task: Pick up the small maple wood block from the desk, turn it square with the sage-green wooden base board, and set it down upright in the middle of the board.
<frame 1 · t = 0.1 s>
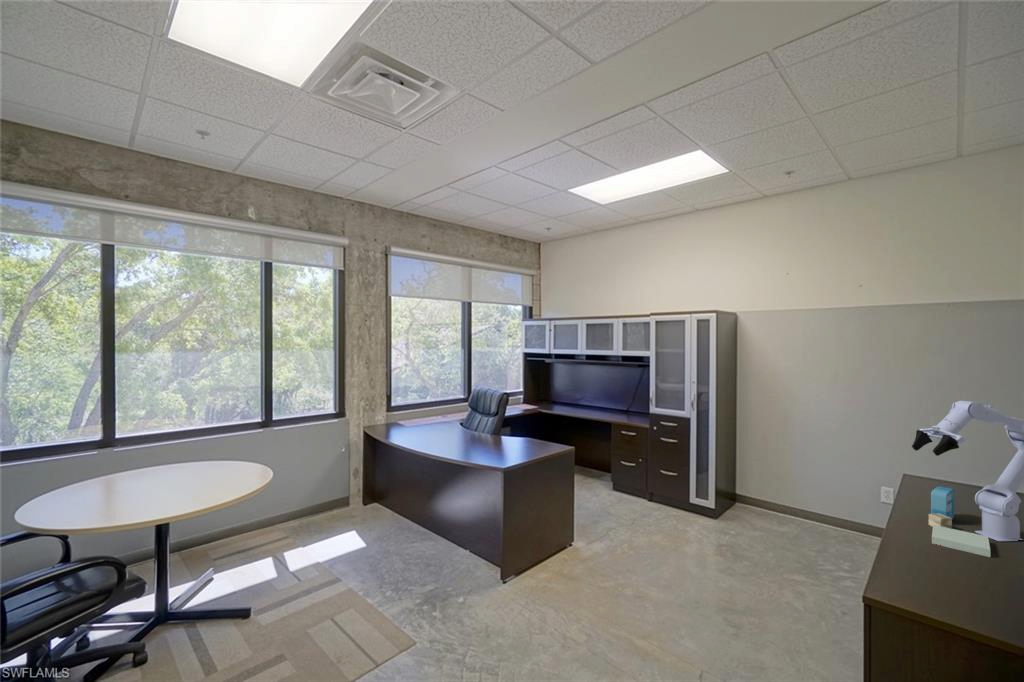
hand: (924, 451, 158), 32 cm above the table, tool tilted 50°, fingers open, 7 cm apart
maple block: (940, 527, 167), on the table
data package: (942, 519, 175), on the table
base board: (959, 543, 154), on the table
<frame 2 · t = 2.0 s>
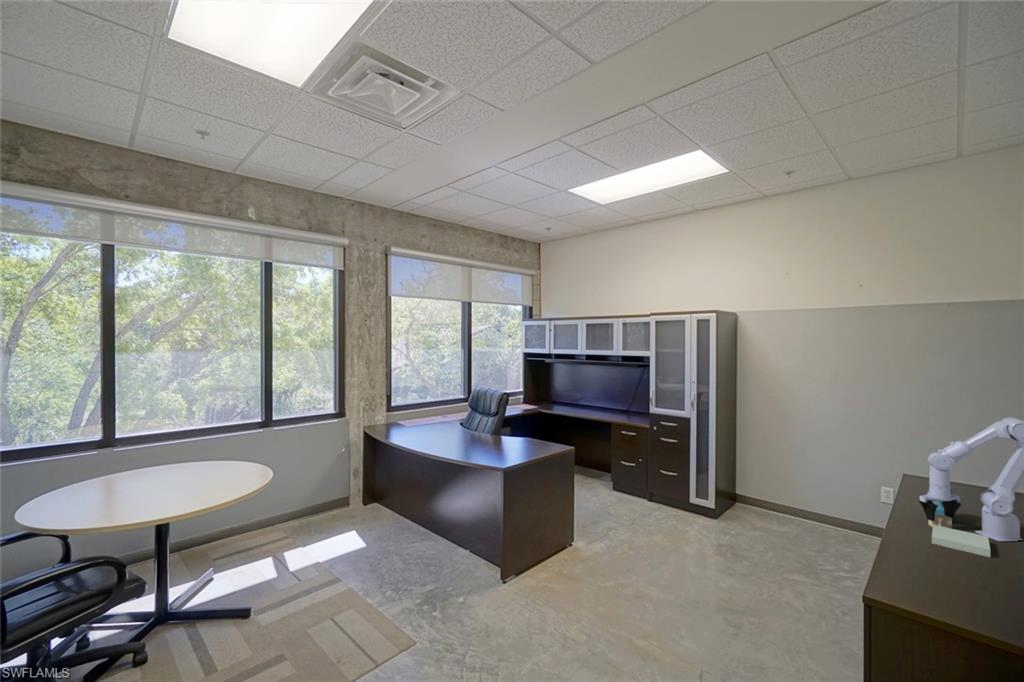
hand: (939, 519, 167), 3 cm above the table, tool pointing down, fingers open, 7 cm apart
nothing on the table moved.
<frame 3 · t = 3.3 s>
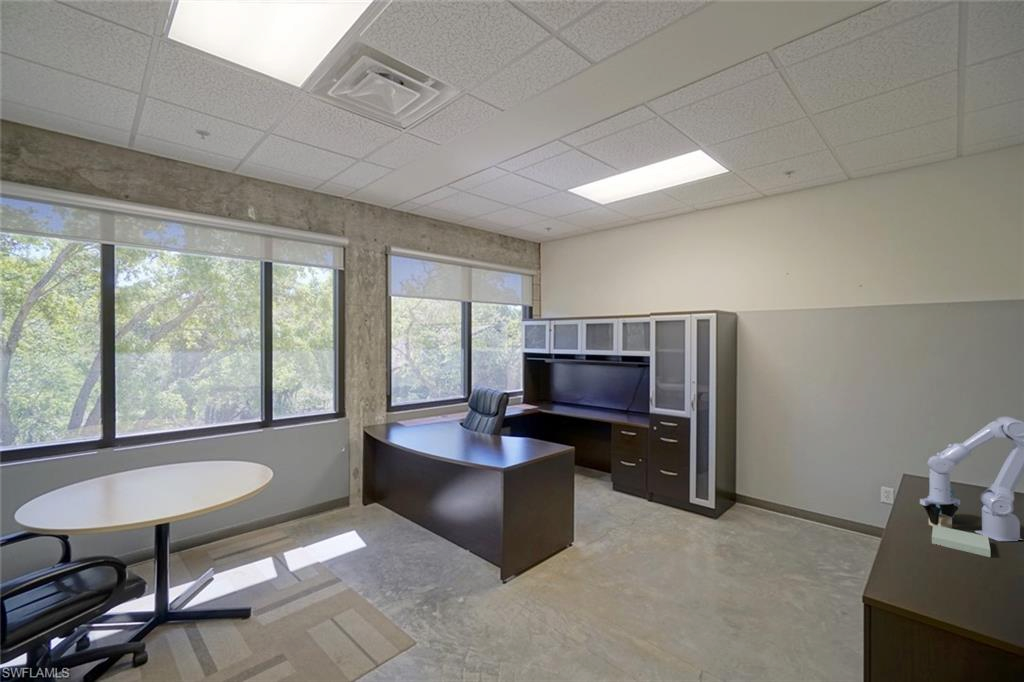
hand: (940, 523, 167), 2 cm above the table, tool pointing down, fingers closed on maple block, 4 cm apart
maple block: (940, 527, 167), on the table, touching gripper
everything else where it was.
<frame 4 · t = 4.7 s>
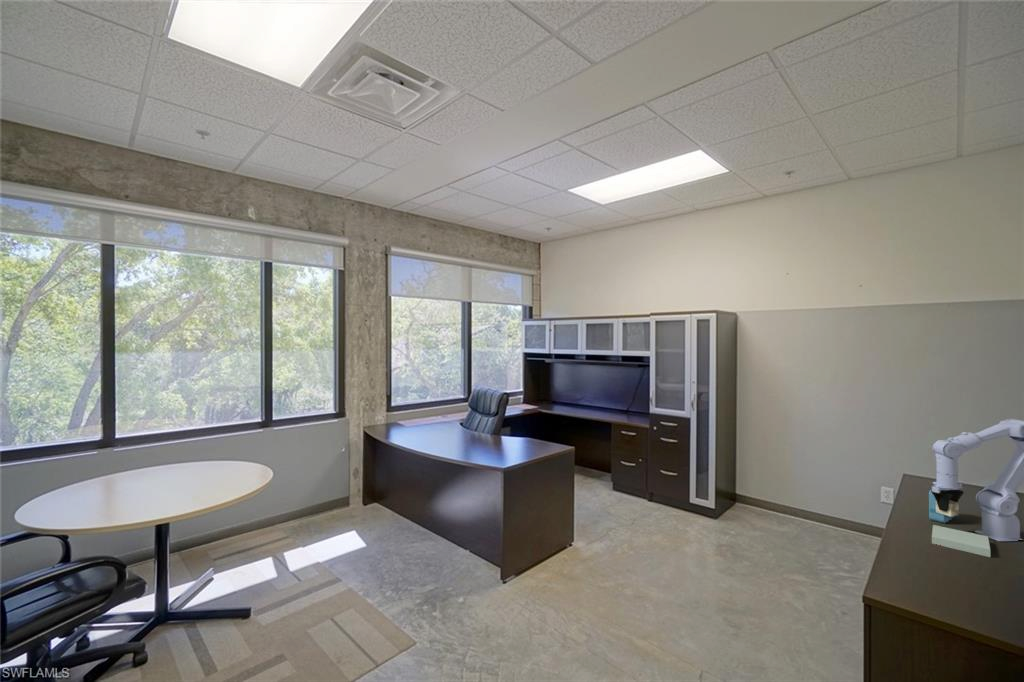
hand: (947, 509, 162), 9 cm above the table, tool pointing down, fingers closed on maple block, 4 cm apart
maple block: (947, 513, 162), point 7 cm above the table, touching gripper
everything else where it was.
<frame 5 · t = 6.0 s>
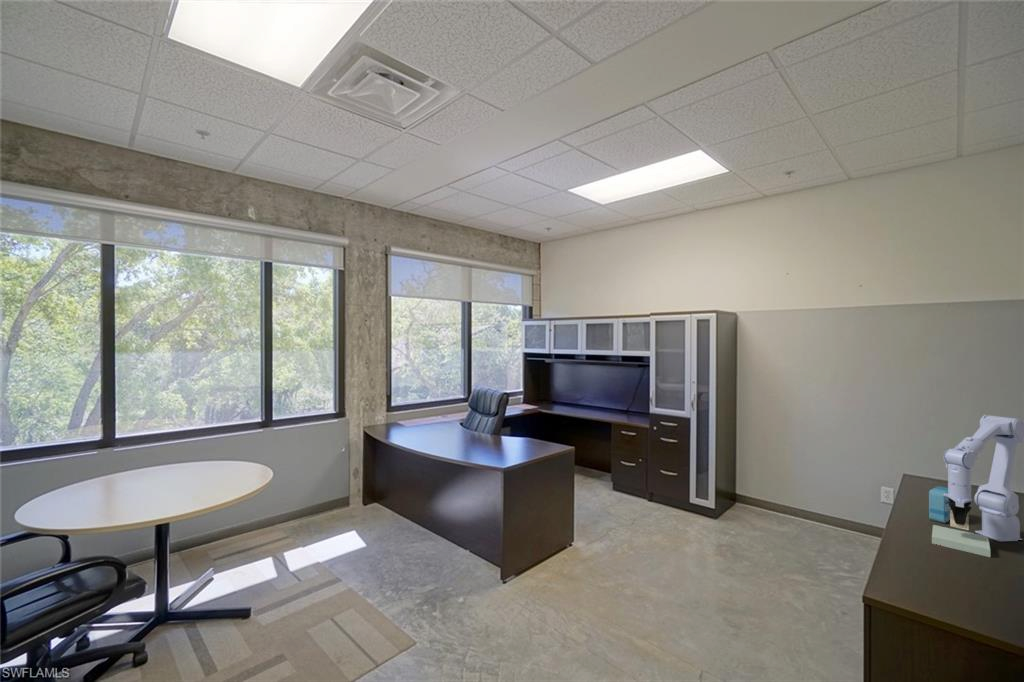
hand: (959, 522, 154), 8 cm above the table, tool pointing down, fingers closed on maple block, 4 cm apart
maple block: (959, 526, 154), point 6 cm above the table, touching gripper
everything else where it was.
when the fingers open (5 cm above the table, at t = 6.9 s): maple block stays where it is, resting on base board.
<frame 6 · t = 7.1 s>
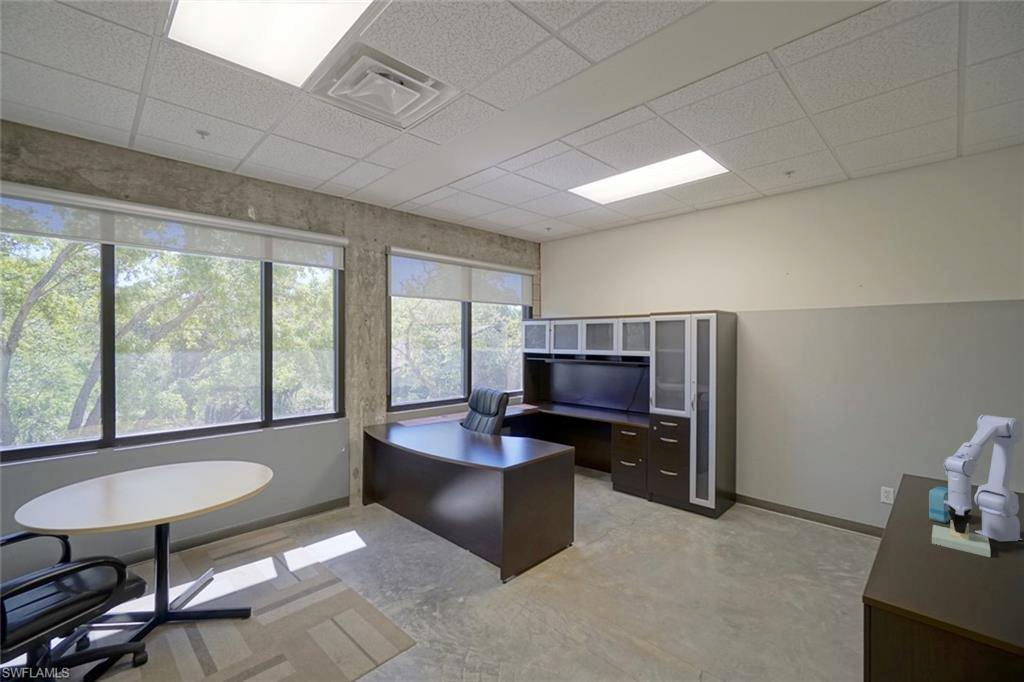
hand: (959, 529, 154), 5 cm above the table, tool pointing down, fingers open, 6 cm apart
maple block: (959, 536, 154), point 2 cm above the table, touching base board
everything else where it was.
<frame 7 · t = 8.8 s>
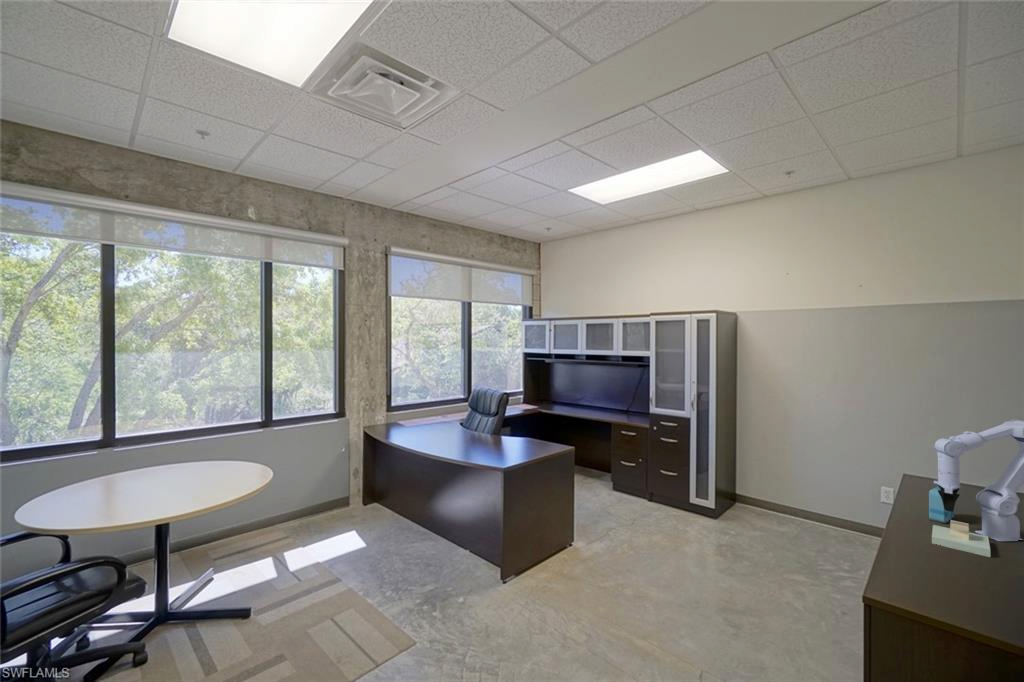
hand: (948, 508, 162), 9 cm above the table, tool pointing down, fingers open, 7 cm apart
nothing on the table moved.
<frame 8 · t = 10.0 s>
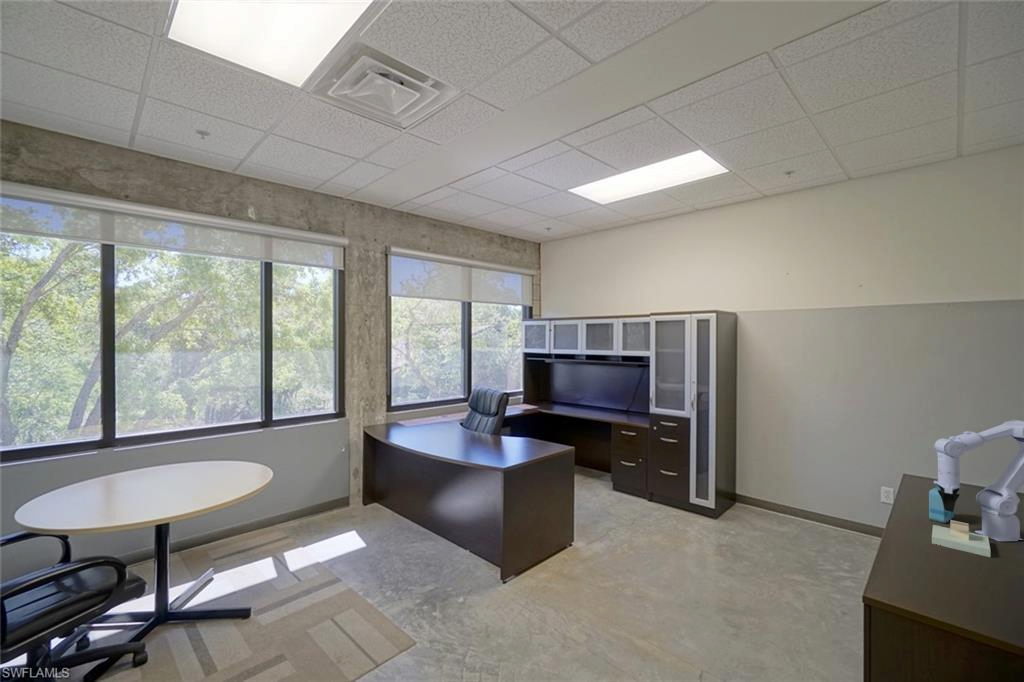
hand: (948, 508, 162), 9 cm above the table, tool pointing down, fingers open, 7 cm apart
nothing on the table moved.
at the end: maple block inside the target area on the base board (0.1 cm from its centre), point 2.5 cm above the base board's base; maple block tilted 0°; the gripper is holding nothing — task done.
